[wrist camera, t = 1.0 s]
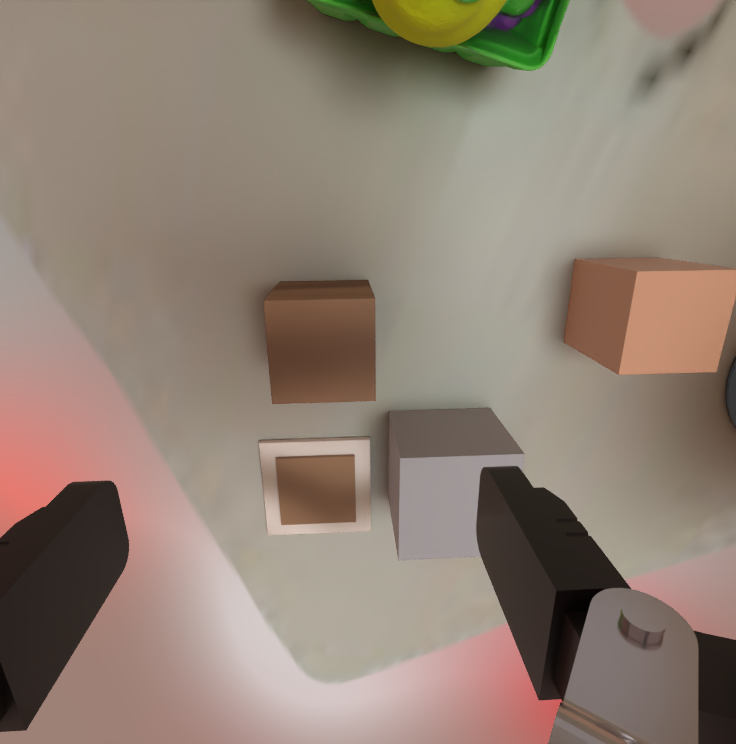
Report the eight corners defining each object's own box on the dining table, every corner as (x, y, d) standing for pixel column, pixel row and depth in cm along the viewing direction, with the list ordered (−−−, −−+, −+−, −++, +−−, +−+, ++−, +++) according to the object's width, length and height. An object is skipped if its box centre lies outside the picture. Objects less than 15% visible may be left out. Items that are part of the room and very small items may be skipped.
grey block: (388, 410, 29) (400, 458, 24) (489, 407, 29) (524, 453, 24) (388, 497, 31) (398, 560, 26) (482, 493, 32) (512, 555, 26)
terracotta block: (574, 258, 27) (637, 271, 21) (658, 257, 27) (742, 269, 21) (563, 342, 28) (618, 374, 23) (642, 340, 28) (716, 372, 23)
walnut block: (280, 281, 26) (263, 300, 20) (368, 279, 26) (375, 298, 21) (286, 364, 28) (272, 403, 22) (368, 362, 28) (375, 400, 22)
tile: (260, 440, 29) (258, 445, 29) (369, 436, 30) (370, 441, 29) (268, 531, 32) (267, 538, 31) (370, 526, 32) (371, 533, 31)
